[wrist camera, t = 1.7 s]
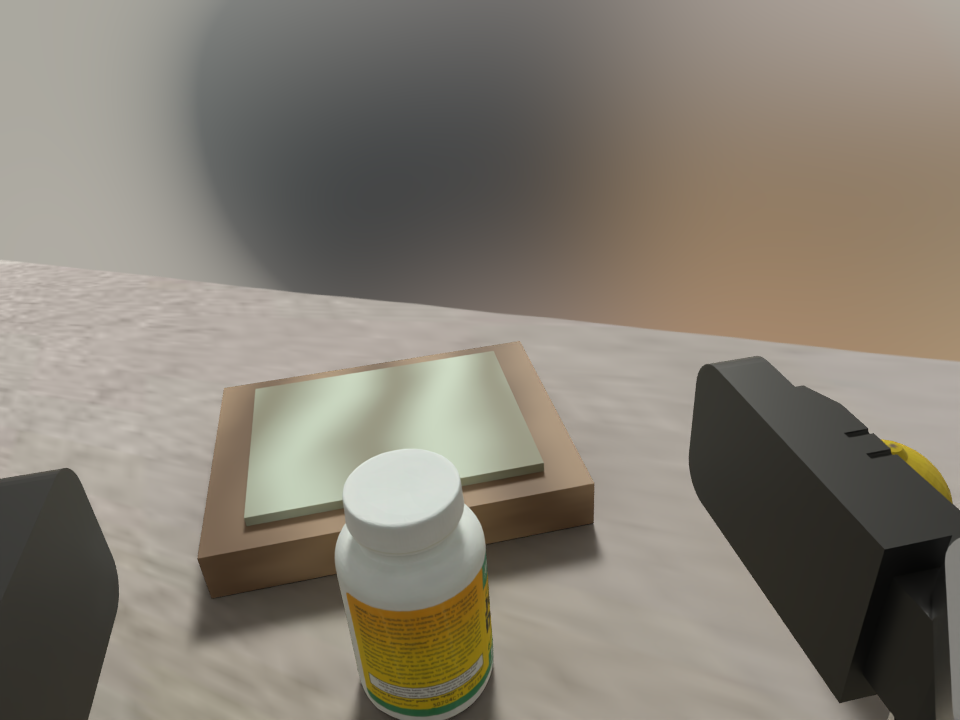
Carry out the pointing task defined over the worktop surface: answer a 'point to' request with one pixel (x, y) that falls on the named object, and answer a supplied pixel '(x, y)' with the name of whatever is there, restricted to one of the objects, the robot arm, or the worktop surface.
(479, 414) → the brown flat wooden block
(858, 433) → the robot arm
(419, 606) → the supplement bottle
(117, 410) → the worktop surface
